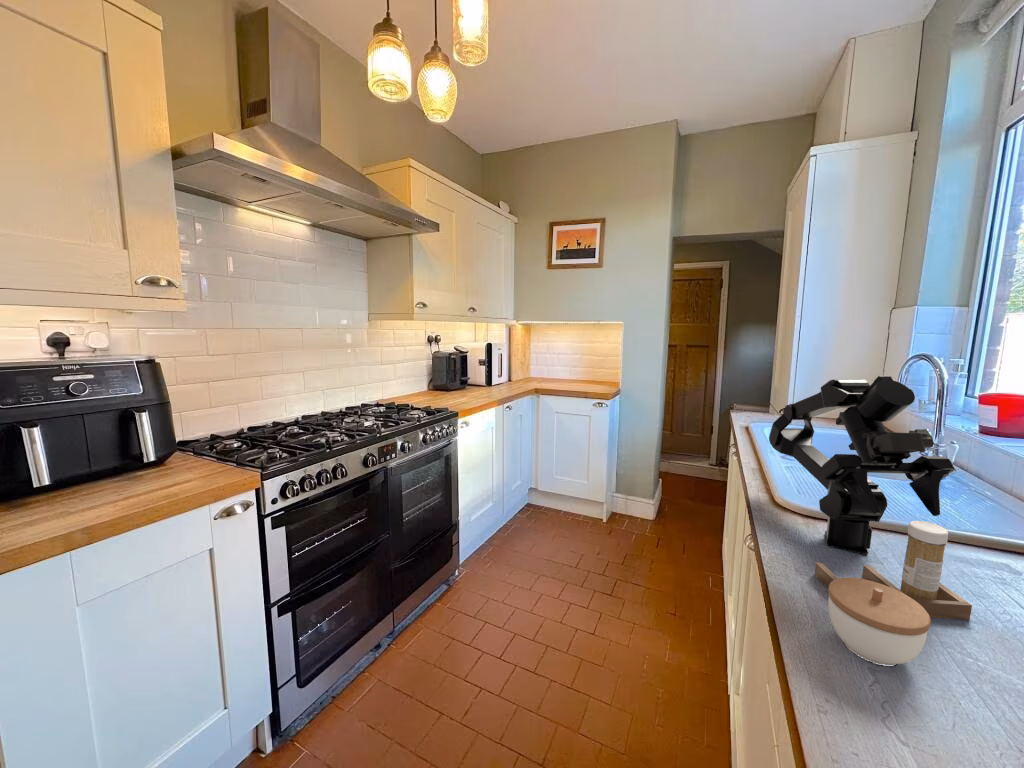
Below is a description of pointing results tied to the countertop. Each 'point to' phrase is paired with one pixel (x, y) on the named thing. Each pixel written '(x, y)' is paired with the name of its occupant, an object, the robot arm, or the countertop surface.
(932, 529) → the sprinkles bottle
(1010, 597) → the countertop surface
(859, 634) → the lidded jar
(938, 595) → the walnut lanes
